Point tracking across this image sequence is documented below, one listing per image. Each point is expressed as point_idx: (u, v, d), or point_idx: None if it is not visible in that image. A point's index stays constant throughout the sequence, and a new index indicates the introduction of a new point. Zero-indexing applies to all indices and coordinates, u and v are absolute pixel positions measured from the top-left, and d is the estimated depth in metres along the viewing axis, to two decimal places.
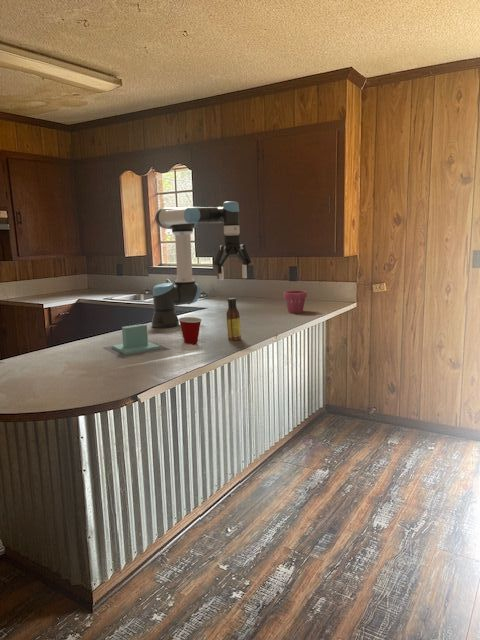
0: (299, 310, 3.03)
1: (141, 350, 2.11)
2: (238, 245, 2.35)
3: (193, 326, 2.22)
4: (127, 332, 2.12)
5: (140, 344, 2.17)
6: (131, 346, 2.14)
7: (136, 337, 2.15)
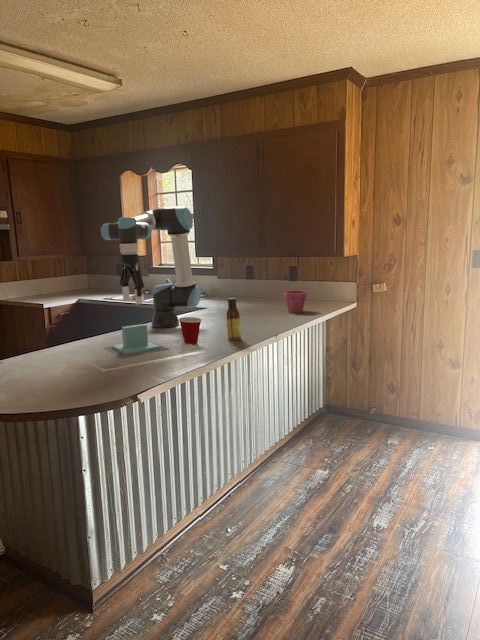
0: (299, 310, 3.03)
1: (141, 350, 2.11)
2: (130, 266, 2.08)
3: (193, 326, 2.22)
4: (127, 332, 2.12)
5: (140, 344, 2.17)
6: (131, 346, 2.14)
7: (136, 337, 2.15)
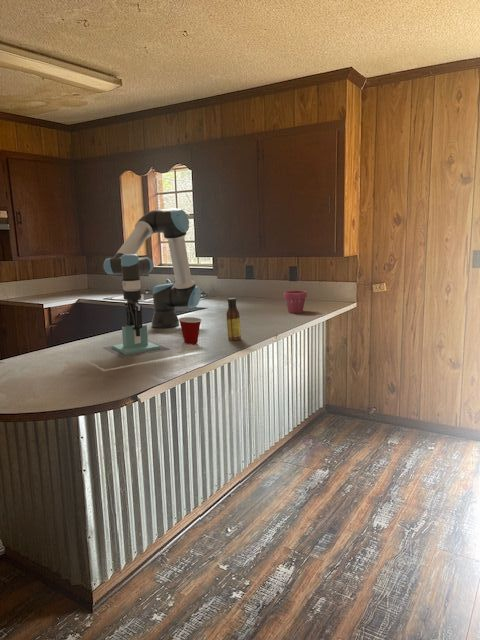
0: (299, 310, 3.03)
1: (141, 350, 2.11)
2: (133, 302, 2.11)
3: (193, 326, 2.22)
4: (127, 332, 2.12)
5: (140, 344, 2.17)
6: (131, 346, 2.14)
7: None
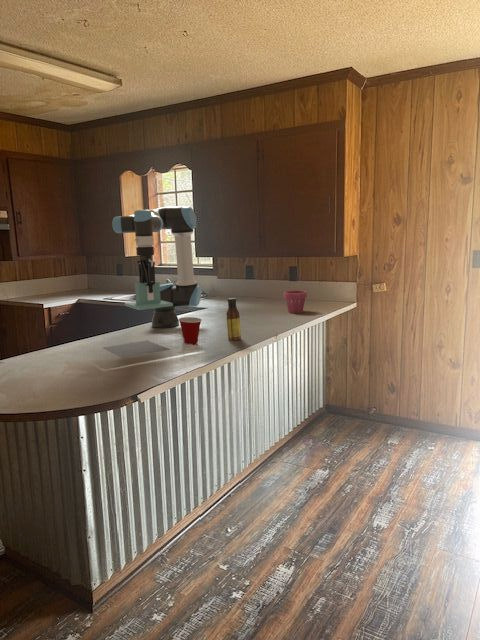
0: (299, 310, 3.03)
1: (154, 306, 2.10)
2: (146, 258, 2.10)
3: (193, 326, 2.22)
4: (140, 288, 2.12)
5: (153, 302, 2.16)
6: (144, 303, 2.14)
7: None
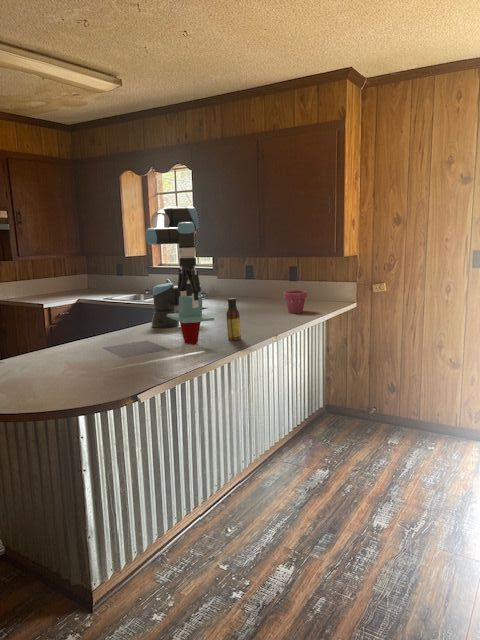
0: (299, 310, 3.03)
1: (197, 320, 2.18)
2: (189, 269, 2.18)
3: (193, 326, 2.22)
4: (184, 301, 2.20)
5: (195, 315, 2.24)
6: (187, 316, 2.22)
7: (192, 308, 2.23)
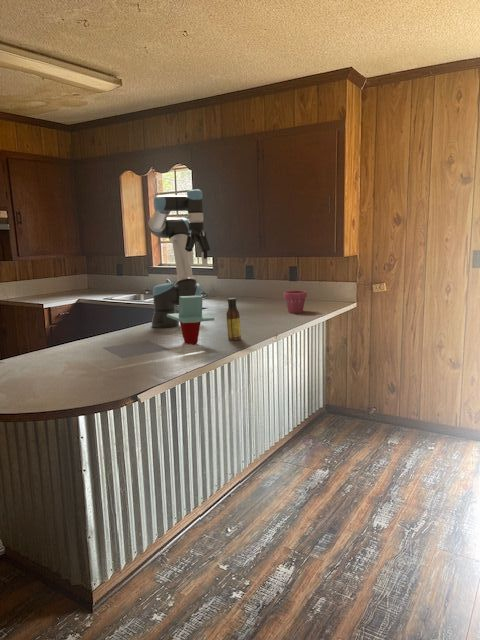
0: (299, 310, 3.03)
1: (197, 320, 2.18)
2: (197, 232, 2.41)
3: (193, 326, 2.22)
4: (184, 301, 2.20)
5: (195, 315, 2.24)
6: (187, 316, 2.22)
7: (192, 308, 2.23)
